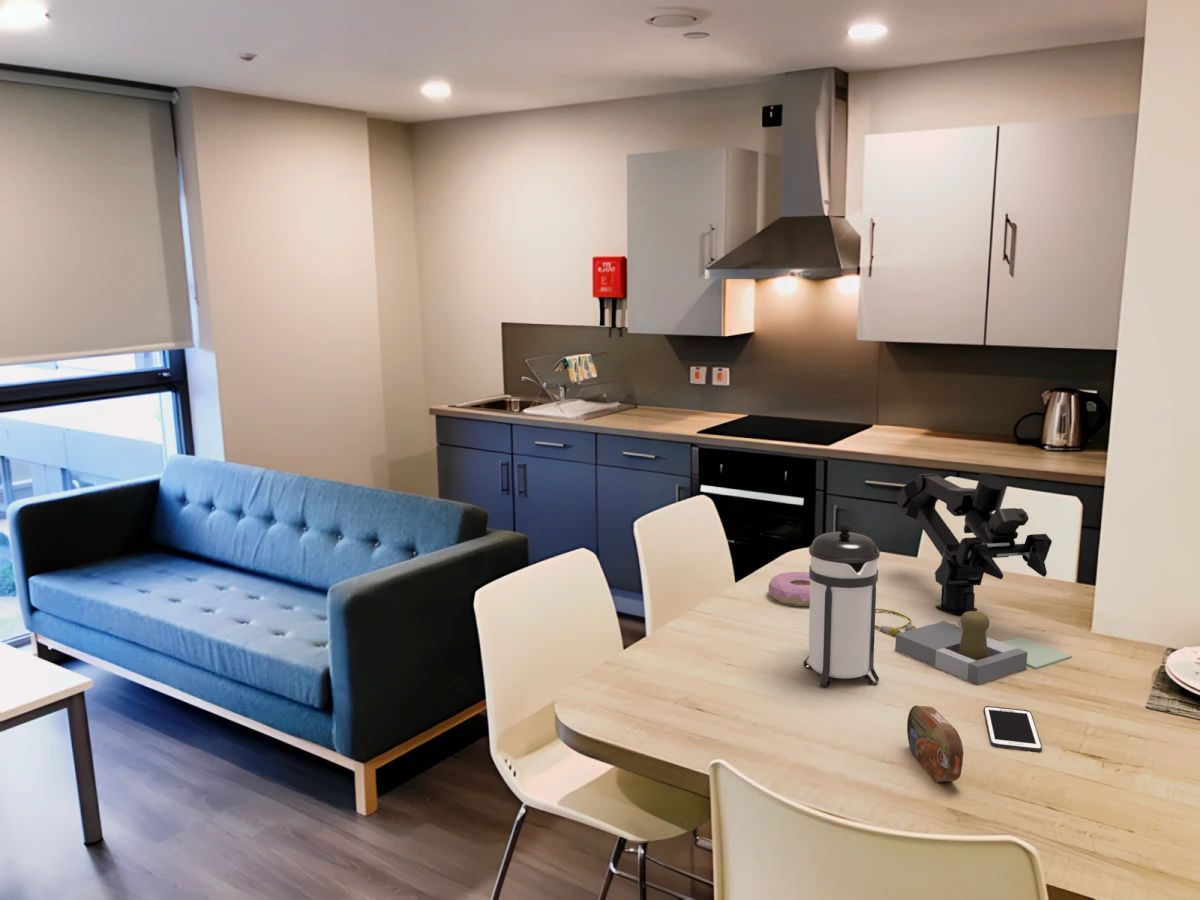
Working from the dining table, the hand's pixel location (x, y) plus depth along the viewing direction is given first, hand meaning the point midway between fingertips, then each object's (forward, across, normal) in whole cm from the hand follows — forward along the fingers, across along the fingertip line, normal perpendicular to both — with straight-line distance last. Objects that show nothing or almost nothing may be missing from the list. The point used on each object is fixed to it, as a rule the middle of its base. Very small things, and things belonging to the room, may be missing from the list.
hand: (1023, 576), depth 193 cm
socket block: (+8, -14, +14) cm, 21 cm away
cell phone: (+35, -20, +4) cm, 40 cm away
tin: (+44, -38, 0) cm, 59 cm away
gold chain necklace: (-12, -19, +23) cm, 32 cm away
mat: (+7, +1, +14) cm, 16 cm away
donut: (-30, -32, +30) cm, 53 cm away
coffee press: (+10, -40, +14) cm, 43 cm away
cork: (+11, -13, +13) cm, 21 cm away
